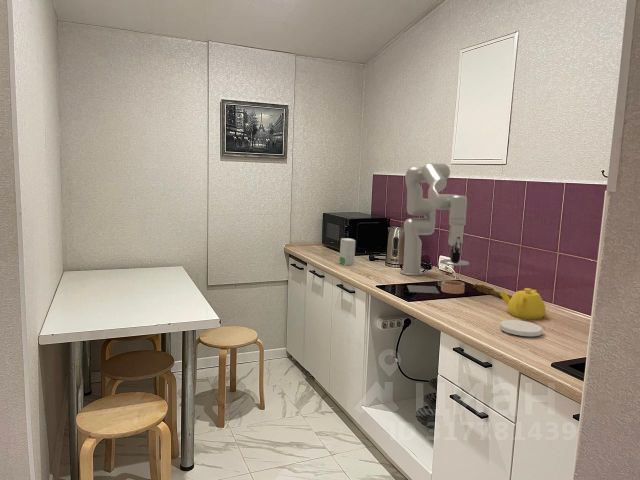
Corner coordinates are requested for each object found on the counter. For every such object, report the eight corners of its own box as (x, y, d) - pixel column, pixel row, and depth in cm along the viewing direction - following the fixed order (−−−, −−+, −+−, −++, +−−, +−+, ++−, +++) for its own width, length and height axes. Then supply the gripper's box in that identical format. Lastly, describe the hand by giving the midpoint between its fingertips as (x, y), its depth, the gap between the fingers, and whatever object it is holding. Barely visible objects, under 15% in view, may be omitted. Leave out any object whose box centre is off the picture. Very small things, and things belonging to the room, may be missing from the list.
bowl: (439, 289, 235) (440, 280, 234) (461, 290, 234) (461, 281, 234) (443, 294, 225) (444, 284, 224) (465, 295, 224) (466, 285, 223)
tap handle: (516, 298, 210) (472, 283, 238) (515, 305, 210) (471, 289, 238) (521, 298, 211) (477, 282, 239) (521, 304, 212) (476, 288, 239)
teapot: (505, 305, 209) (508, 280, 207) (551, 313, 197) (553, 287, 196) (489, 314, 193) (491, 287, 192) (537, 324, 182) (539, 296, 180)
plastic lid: (542, 341, 163) (543, 334, 163) (499, 335, 168) (499, 328, 168) (540, 329, 176) (541, 323, 176) (499, 324, 181) (500, 318, 181)
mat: (406, 286, 239) (406, 285, 239) (435, 287, 238) (435, 286, 238) (409, 293, 225) (409, 291, 225) (439, 294, 224) (439, 293, 224)
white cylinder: (339, 263, 297) (340, 238, 295) (348, 262, 300) (349, 238, 298) (345, 265, 289) (346, 240, 287) (355, 265, 292) (356, 239, 290)
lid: (438, 260, 234) (439, 249, 234) (465, 261, 234) (466, 250, 233) (443, 265, 222) (443, 253, 221) (471, 266, 221) (472, 254, 220)
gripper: (446, 220, 233) (443, 257, 236) (452, 223, 217) (450, 263, 219) (461, 220, 233) (459, 257, 235) (469, 223, 217) (466, 263, 219)
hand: (454, 259), depth 227 cm, fingers closed on lid, 3 cm apart
